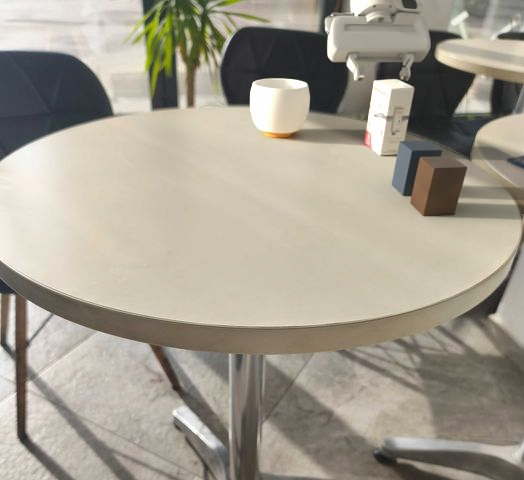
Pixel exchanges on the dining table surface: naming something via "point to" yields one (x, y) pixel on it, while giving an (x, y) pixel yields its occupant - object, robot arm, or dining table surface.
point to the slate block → (411, 163)
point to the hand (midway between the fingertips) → (382, 78)
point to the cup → (279, 105)
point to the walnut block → (438, 185)
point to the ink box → (388, 115)
